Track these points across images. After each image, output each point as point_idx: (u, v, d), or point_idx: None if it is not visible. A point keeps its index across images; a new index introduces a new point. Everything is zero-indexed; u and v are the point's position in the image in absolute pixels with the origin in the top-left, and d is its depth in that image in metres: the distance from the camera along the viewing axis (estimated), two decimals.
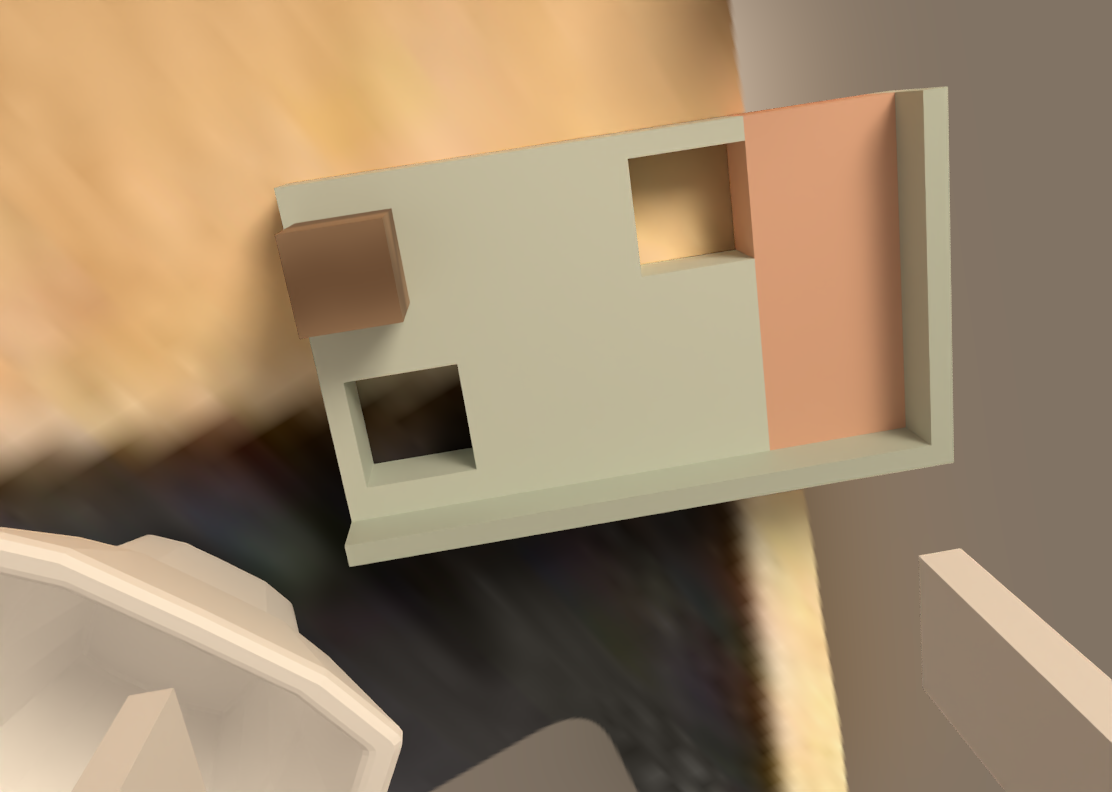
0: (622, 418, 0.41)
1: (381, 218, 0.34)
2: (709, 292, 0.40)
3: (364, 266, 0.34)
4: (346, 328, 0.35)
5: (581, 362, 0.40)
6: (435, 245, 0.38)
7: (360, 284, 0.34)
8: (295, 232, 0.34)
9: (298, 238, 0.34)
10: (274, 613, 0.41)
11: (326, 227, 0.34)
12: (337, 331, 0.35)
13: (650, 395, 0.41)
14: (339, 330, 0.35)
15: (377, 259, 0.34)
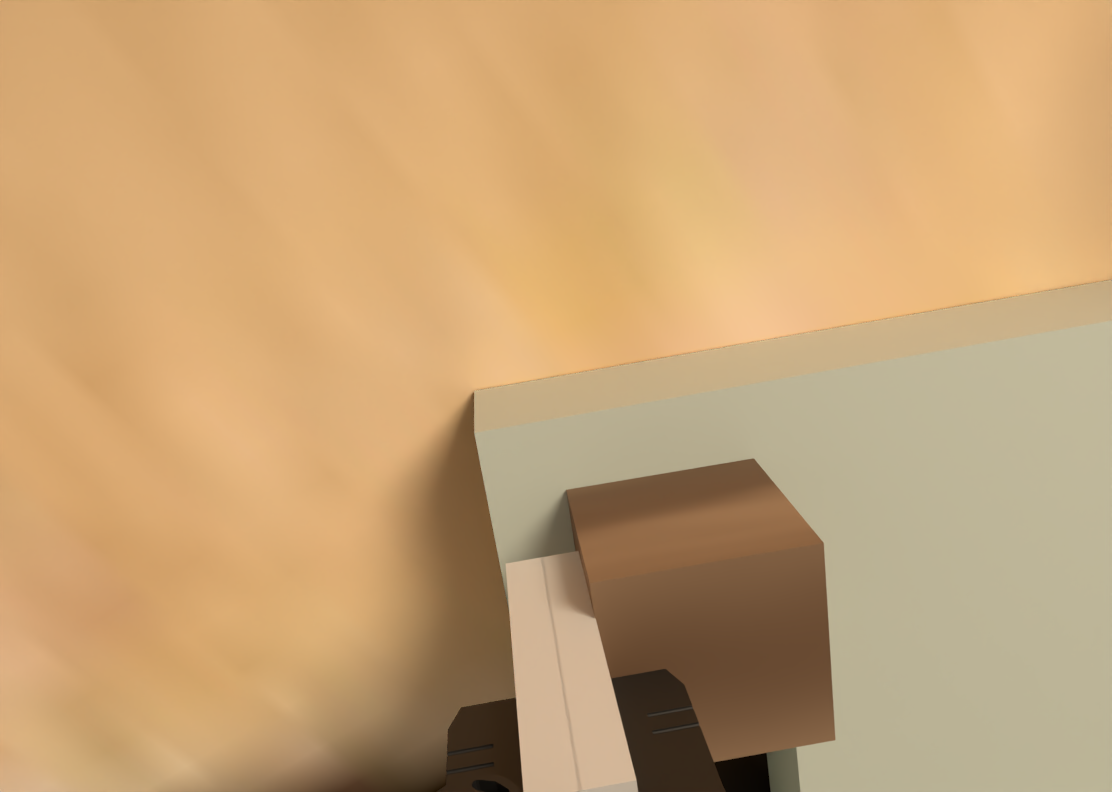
0: None
1: (822, 543, 0.15)
2: None
3: (772, 638, 0.16)
4: (717, 755, 0.16)
5: (1018, 713, 0.22)
6: None
7: (758, 672, 0.16)
8: (634, 577, 0.15)
9: (638, 589, 0.15)
10: None
11: (702, 565, 0.15)
12: None
13: None
14: None
15: (800, 624, 0.16)
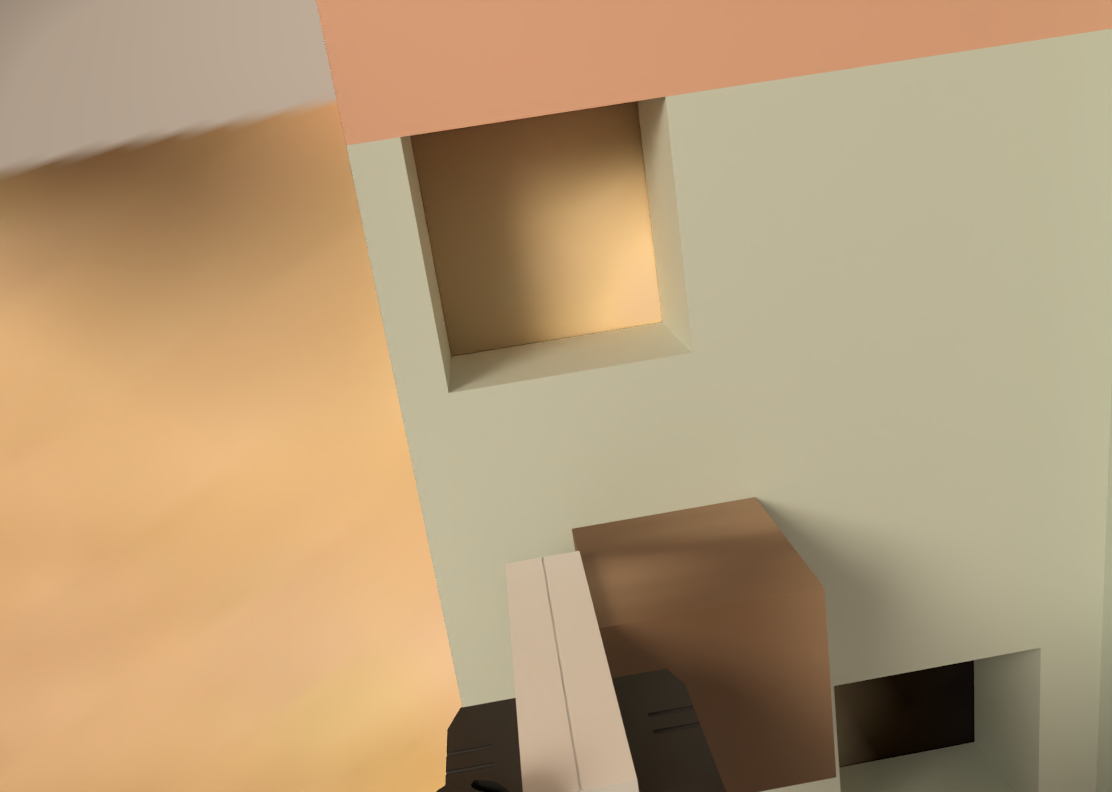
0: (987, 379, 0.19)
1: None
2: (735, 201, 0.18)
3: (698, 661, 0.16)
4: (824, 694, 0.16)
5: (857, 465, 0.20)
6: None
7: (734, 669, 0.16)
8: None
9: None
10: None
11: None
12: (829, 710, 0.17)
13: (948, 321, 0.19)
14: (828, 706, 0.16)
15: (685, 637, 0.16)
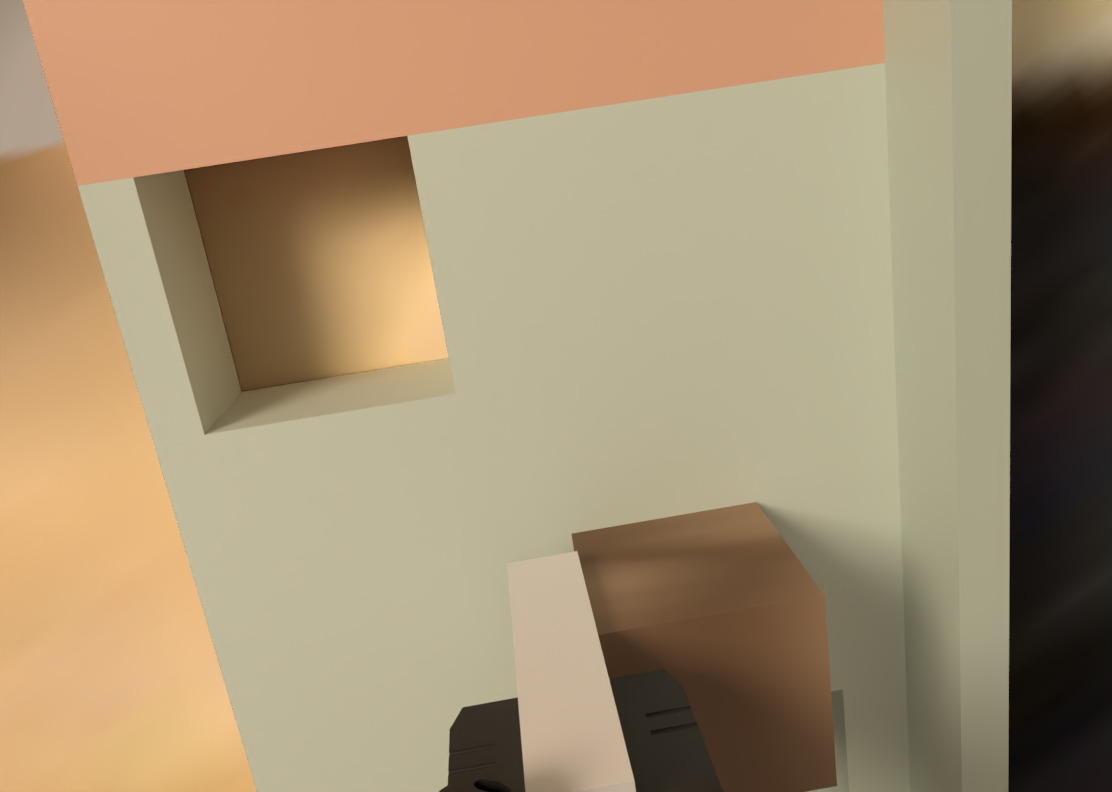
0: (766, 419, 0.19)
1: None
2: (489, 241, 0.17)
3: (697, 669, 0.16)
4: (825, 702, 0.16)
5: (637, 506, 0.19)
6: (403, 768, 0.21)
7: (733, 677, 0.16)
8: None
9: None
10: None
11: None
12: (829, 719, 0.16)
13: (721, 361, 0.18)
14: (829, 714, 0.16)
15: (683, 645, 0.16)
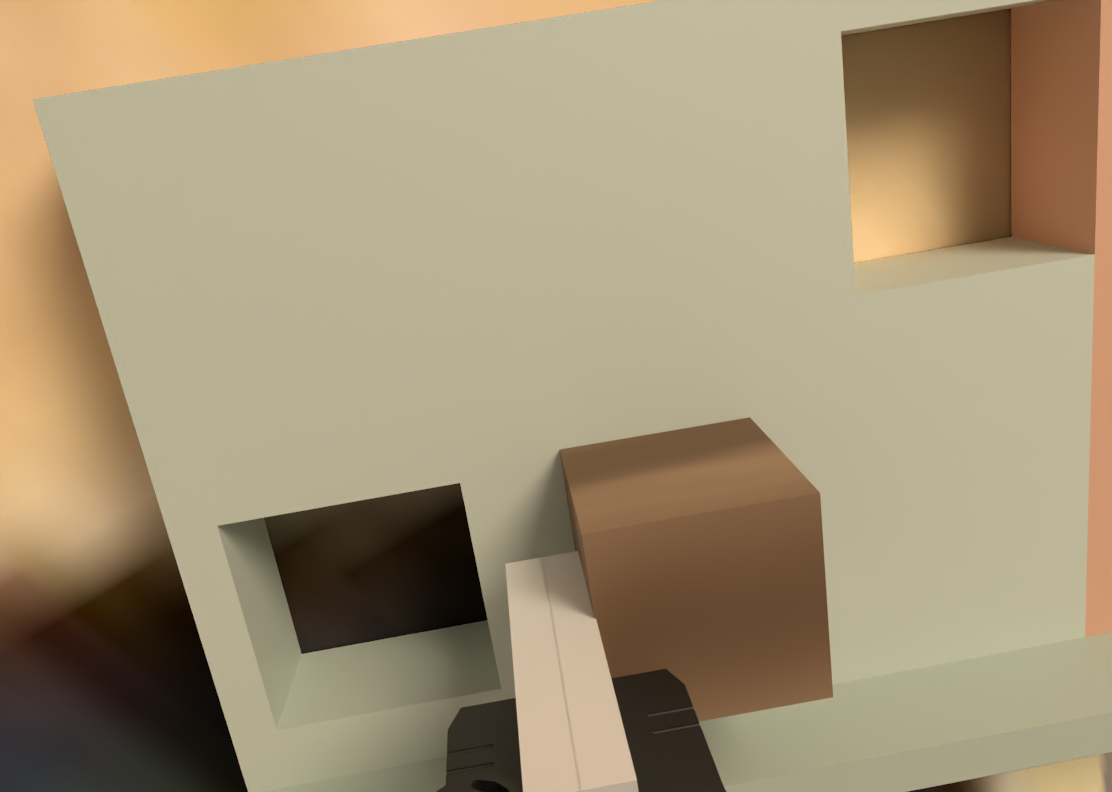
0: None
1: (818, 492, 0.15)
2: (994, 327, 0.19)
3: (767, 592, 0.15)
4: (713, 713, 0.16)
5: None
6: (409, 230, 0.17)
7: (754, 626, 0.16)
8: (627, 527, 0.15)
9: (631, 541, 0.15)
10: None
11: (696, 515, 0.15)
12: None
13: (858, 537, 0.20)
14: (699, 718, 0.16)
15: (797, 577, 0.15)
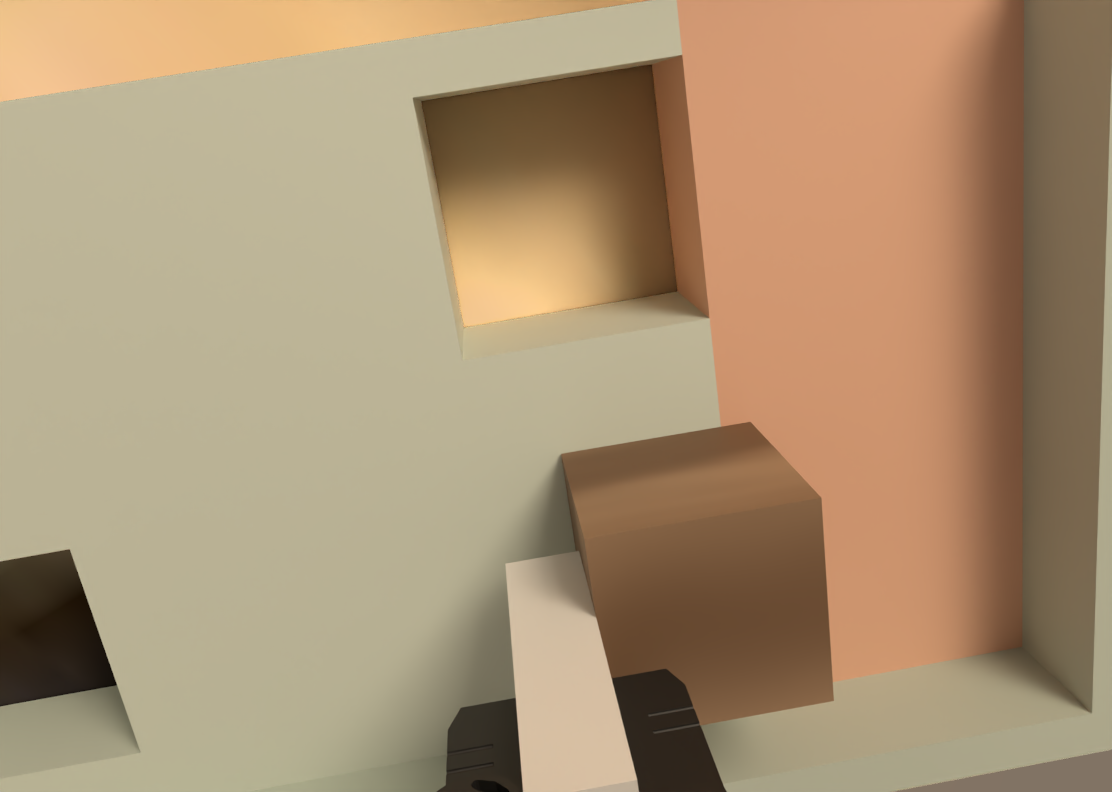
0: (440, 646, 0.20)
1: (820, 498, 0.15)
2: (613, 391, 0.18)
3: (769, 596, 0.16)
4: (714, 717, 0.16)
5: (343, 538, 0.19)
6: None
7: (756, 630, 0.16)
8: (629, 532, 0.15)
9: (634, 546, 0.15)
10: None
11: (698, 520, 0.15)
12: None
13: (497, 601, 0.20)
14: (701, 722, 0.16)
15: (798, 581, 0.16)
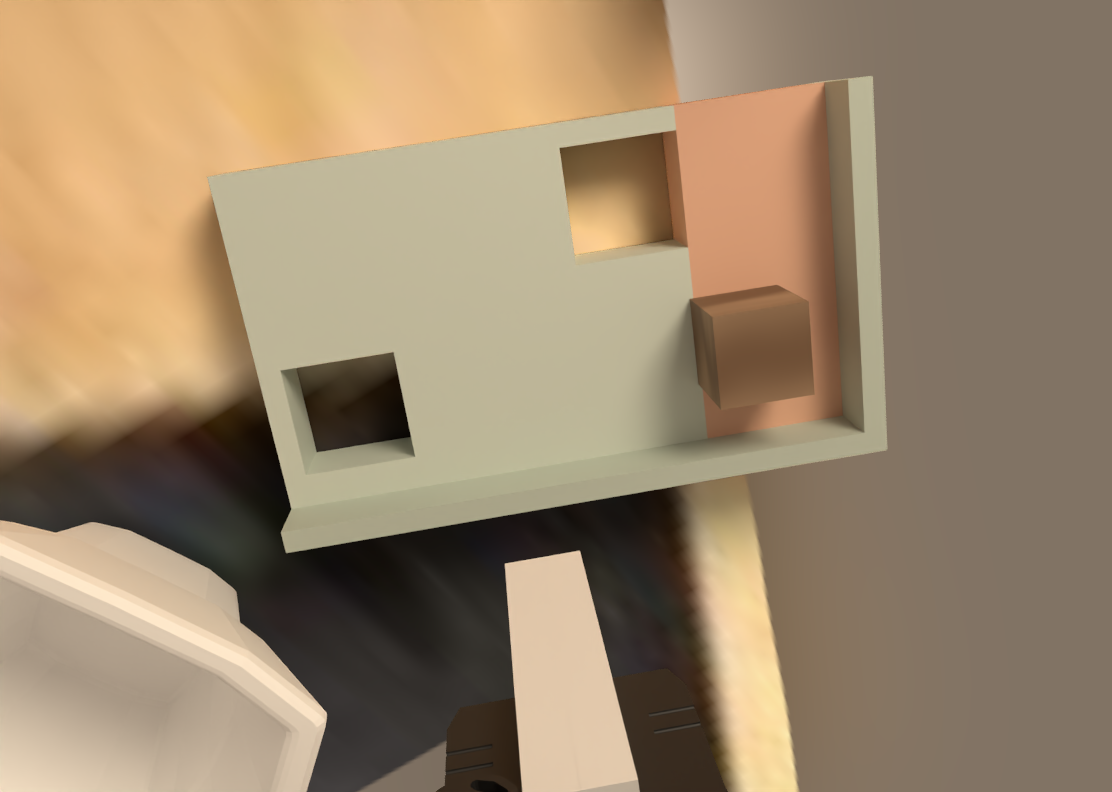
0: (559, 406, 0.42)
1: (808, 301, 0.37)
2: (643, 281, 0.40)
3: (787, 344, 0.37)
4: (763, 400, 0.38)
5: (517, 350, 0.41)
6: (369, 234, 0.39)
7: (781, 360, 0.38)
8: (730, 315, 0.37)
9: (732, 320, 0.37)
10: (214, 599, 0.41)
11: (758, 310, 0.37)
12: (755, 403, 0.38)
13: (587, 383, 0.41)
14: (757, 402, 0.38)
15: (799, 338, 0.37)
